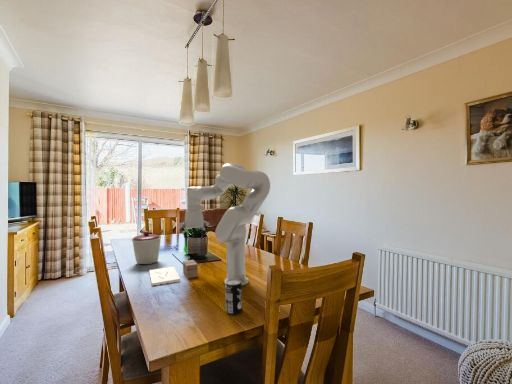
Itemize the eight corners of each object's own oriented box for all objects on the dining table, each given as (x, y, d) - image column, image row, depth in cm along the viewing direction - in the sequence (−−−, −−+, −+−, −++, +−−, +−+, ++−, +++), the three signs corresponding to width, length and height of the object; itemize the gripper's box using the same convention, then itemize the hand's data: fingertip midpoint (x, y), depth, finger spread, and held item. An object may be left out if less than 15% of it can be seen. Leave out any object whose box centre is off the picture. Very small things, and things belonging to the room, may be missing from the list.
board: (180, 281, 144) (180, 278, 144) (151, 286, 138) (151, 283, 138) (174, 269, 166) (173, 266, 166) (149, 272, 160) (149, 270, 160)
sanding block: (197, 276, 152) (197, 264, 152) (186, 278, 149) (186, 265, 149) (193, 271, 161) (193, 259, 161) (183, 273, 158) (182, 261, 158)
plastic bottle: (180, 254, 200) (179, 220, 200) (193, 251, 208) (192, 219, 207) (187, 256, 193) (186, 221, 193) (200, 253, 201) (199, 220, 200)
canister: (150, 257, 193) (148, 228, 193) (167, 260, 184) (166, 229, 183) (126, 264, 178) (125, 232, 177) (144, 268, 169) (143, 234, 168)
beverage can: (242, 307, 112) (241, 278, 112) (242, 315, 105) (241, 284, 105) (226, 308, 112) (225, 279, 111) (225, 315, 105) (224, 285, 105)
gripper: (207, 207, 163) (207, 235, 163) (177, 208, 155) (178, 238, 156) (210, 208, 156) (211, 237, 157) (179, 209, 149) (180, 240, 149)
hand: (194, 238), depth 156 cm, fingers open, 9 cm apart
